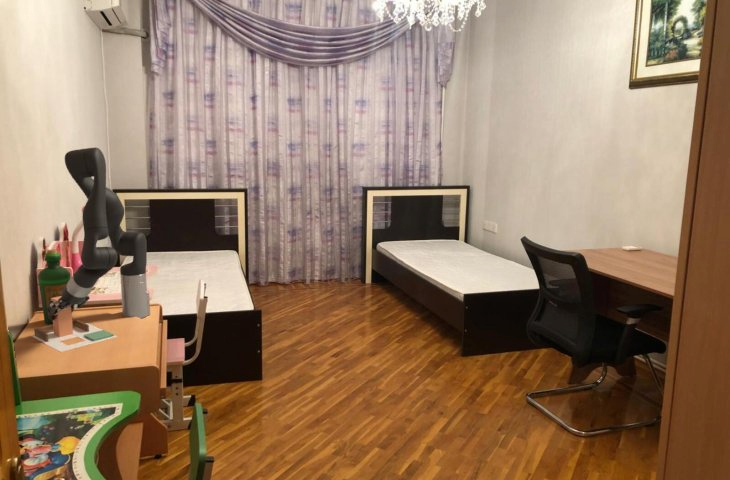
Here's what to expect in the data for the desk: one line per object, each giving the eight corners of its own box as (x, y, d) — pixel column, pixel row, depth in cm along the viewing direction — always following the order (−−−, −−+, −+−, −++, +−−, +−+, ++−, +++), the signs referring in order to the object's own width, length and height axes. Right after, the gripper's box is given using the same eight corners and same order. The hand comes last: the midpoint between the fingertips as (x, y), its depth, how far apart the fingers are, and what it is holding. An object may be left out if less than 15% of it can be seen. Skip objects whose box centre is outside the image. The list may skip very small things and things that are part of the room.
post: (67, 331, 201) (64, 295, 199) (73, 333, 198) (70, 297, 196) (53, 334, 197) (51, 298, 195) (59, 337, 195) (56, 300, 192)
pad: (103, 331, 201) (103, 329, 201) (113, 336, 197) (113, 334, 197) (83, 336, 196) (83, 334, 196) (93, 341, 192) (93, 339, 192)
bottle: (60, 329, 205) (54, 253, 200) (34, 327, 208) (28, 252, 203) (80, 320, 216) (75, 248, 211) (55, 318, 218) (50, 246, 213)
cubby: (76, 325, 207) (76, 319, 206) (89, 331, 201) (88, 324, 201) (34, 335, 196) (34, 328, 195) (46, 341, 190) (46, 335, 190)
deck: (87, 325, 210) (86, 322, 210) (117, 339, 197) (117, 336, 197) (31, 339, 196) (31, 336, 195) (60, 355, 182) (60, 351, 182)
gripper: (92, 274, 197) (72, 302, 205) (52, 283, 184) (33, 313, 192) (103, 291, 195) (83, 319, 203) (64, 301, 183) (44, 330, 191)
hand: (58, 316), depth 198 cm, fingers closed on post, 5 cm apart
